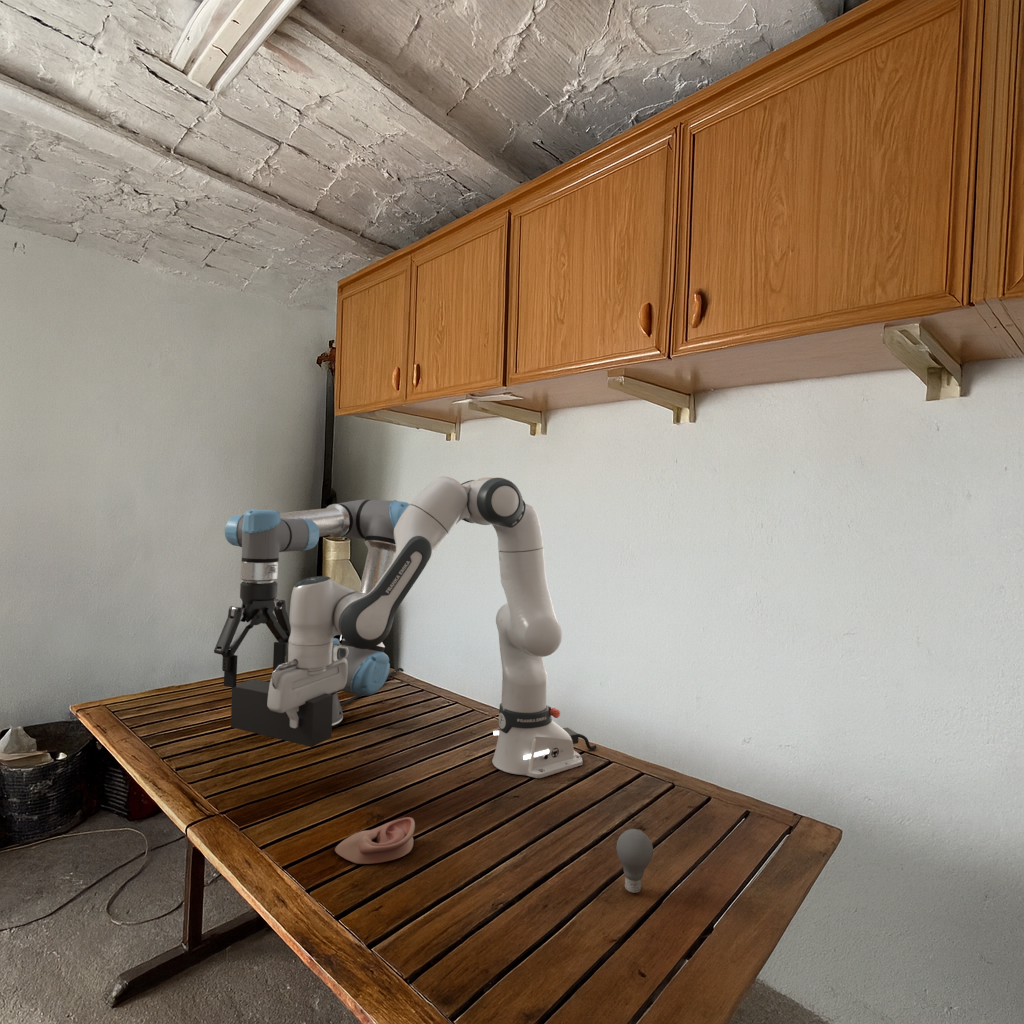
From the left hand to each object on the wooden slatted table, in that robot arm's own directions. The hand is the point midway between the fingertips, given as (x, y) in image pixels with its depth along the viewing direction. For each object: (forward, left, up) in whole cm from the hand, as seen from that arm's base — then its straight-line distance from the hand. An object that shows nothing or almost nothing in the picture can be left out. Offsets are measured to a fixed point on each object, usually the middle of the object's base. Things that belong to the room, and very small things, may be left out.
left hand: (255, 678), depth 137 cm
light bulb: (-23, +80, -23) cm, 87 cm away
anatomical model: (-2, +39, -23) cm, 45 cm away
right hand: (-4, +14, -7) cm, 16 cm away
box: (-2, +7, -10) cm, 13 cm away
